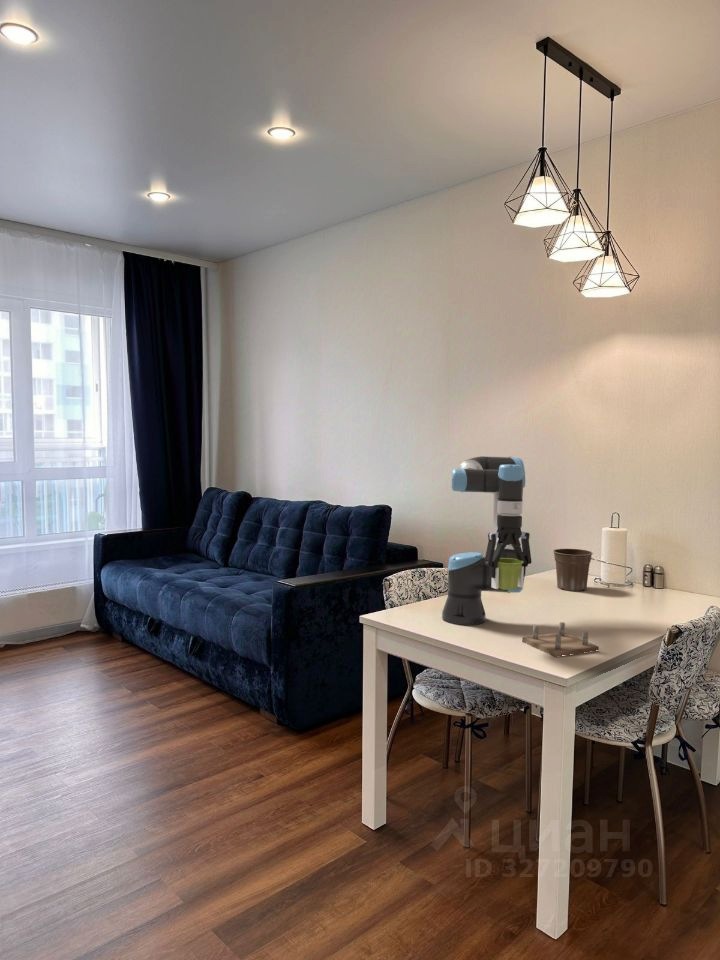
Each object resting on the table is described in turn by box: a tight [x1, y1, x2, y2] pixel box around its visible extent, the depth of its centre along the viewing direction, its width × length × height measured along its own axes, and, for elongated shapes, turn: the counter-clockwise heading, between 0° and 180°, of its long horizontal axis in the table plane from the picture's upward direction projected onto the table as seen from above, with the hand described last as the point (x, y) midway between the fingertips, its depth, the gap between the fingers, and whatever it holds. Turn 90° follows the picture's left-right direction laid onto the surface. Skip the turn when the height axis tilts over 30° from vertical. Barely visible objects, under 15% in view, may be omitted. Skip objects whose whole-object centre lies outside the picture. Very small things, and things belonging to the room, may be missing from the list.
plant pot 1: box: [497, 558, 523, 590], centre depth 208 cm, size 9×9×9 cm
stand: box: [521, 621, 600, 657], centre depth 207 cm, size 16×16×6 cm
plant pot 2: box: [552, 548, 594, 592], centre depth 290 cm, size 16×16×16 cm
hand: (507, 587), depth 209 cm, fingers closed on plant pot 1, 8 cm apart
